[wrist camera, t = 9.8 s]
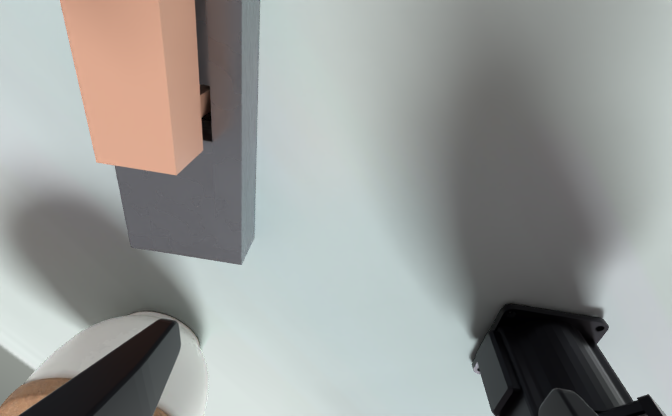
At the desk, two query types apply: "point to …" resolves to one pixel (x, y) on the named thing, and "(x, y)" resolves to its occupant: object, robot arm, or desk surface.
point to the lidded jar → (99, 340)
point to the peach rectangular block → (139, 80)
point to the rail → (208, 151)
